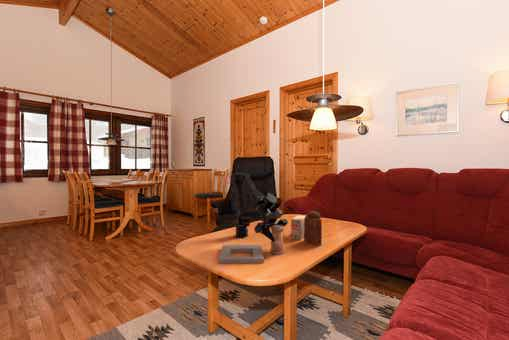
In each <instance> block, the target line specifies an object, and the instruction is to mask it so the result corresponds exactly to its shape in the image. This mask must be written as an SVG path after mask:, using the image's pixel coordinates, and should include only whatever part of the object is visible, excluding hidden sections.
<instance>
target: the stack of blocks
mask: <svg viewBox="0 0 509 340" xmlns="http://www.w3.org/2000/svg"><path fill="white" fill-rule="evenodd" d="M305 216H306V215H300V214H298V215H296V216H294V217H292V218H291V220H290V239H291V240H297V241H302V240H304V228H305V227H304V220H305Z"/></svg>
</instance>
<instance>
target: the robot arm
mask: <svg viewBox="0 0 509 340" xmlns="http://www.w3.org/2000/svg"><path fill="white" fill-rule="evenodd" d="M229 178H230V183H231V185H232V187H234V192H235V197H236V206H237V212H236V215H235V220H234V221H233V223H232V224H233V227H234V228H235V235H234V238H235V237H236V238H240V239H241V238H242V239H245V238H247V237H248V236H249V233H248V232H249V229H248V227H250V224H251V220H252V217H251V213H250V211H248V210H247V206H246V201H245V200H246V199H245V195H244V194H245V193H244V188H243V186H245V188H246V190H247V192H248V194H249V195H250V196H249V200H250V203H251V204H252V206H254V207H255V206H257V207H256V209H255V213H258V214H259V216H260V221H261V222H257V224H256V225H255V227H254V232H255V234H260V235H263V236H264V237H266V238H267V239H268V240H270V242H271V241H273V242H274V238H273V236H272V234H271V232H272V231H271V226H273V225H280V226H284V228H285V227H286V226H287V225H288V223H289V221H288V219H287V218H282V217H283V216H284V214H283V211H282V210H276V211H274V212H273V211H271V209H272V208H273V206H275V205H276V204H277V202H278V200H277V197H276V196H274V195H273V194H271V192H267V193H266V194H265V195H264V193H262V192H261V191H259V190H258V189H257V187H256V186H255V184H254V182H253V181H252V179H251V176H250V174H249V173H242V172H233V173H231V174H230V177H229ZM278 219H279V220H278ZM283 240H285V231H284V230H283Z"/></svg>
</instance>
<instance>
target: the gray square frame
mask: <svg viewBox="0 0 509 340" xmlns="http://www.w3.org/2000/svg"><path fill="white" fill-rule="evenodd" d="M262 248H263V247H262V245H261V244H222V246H221V251H220V255H219V260H218V261H219V264H264V263H265V257H264V253H263V250H262ZM233 253H236V254H237V253H252V256H231V254H233Z"/></svg>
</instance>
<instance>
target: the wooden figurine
mask: <svg viewBox="0 0 509 340" xmlns="http://www.w3.org/2000/svg"><path fill="white" fill-rule="evenodd" d="M304 216H305V220H304V227H305V228H304V238H303V241H304V242H305V243H308V244H312V245H314V246H315V245H316V246H322V243H323V242H322V240H323V239H322V238H323V237H322V234H323V233H322V232H323V230H322V229H323V225H322V215H321V214H320V212H317V211H313V210H312V211H309V212H308V213H307V214H306V215H304Z"/></svg>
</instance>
